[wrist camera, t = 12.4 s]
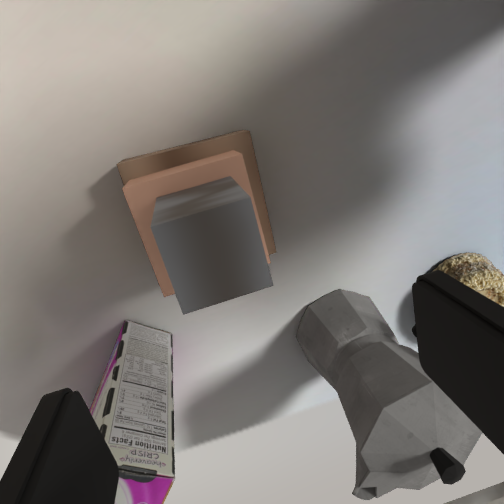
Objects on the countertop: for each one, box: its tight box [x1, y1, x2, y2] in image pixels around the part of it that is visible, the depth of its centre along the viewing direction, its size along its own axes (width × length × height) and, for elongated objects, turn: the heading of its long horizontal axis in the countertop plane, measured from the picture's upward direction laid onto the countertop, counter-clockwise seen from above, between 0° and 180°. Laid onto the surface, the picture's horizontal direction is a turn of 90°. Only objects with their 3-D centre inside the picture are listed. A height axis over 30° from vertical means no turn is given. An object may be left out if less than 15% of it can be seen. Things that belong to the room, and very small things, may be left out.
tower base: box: [117, 130, 276, 286], centre depth 31 cm, size 10×10×4 cm
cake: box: [432, 253, 504, 307], centre depth 39 cm, size 10×10×5 cm
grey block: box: [151, 176, 273, 315], centre depth 22 cm, size 5×5×7 cm
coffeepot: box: [296, 289, 483, 500], centre depth 31 cm, size 15×9×18 cm, turn 138°
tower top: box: [122, 150, 271, 297], centre depth 28 cm, size 8×8×4 cm
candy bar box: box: [89, 320, 175, 504], centre depth 29 cm, size 11×5×16 cm, turn 156°
